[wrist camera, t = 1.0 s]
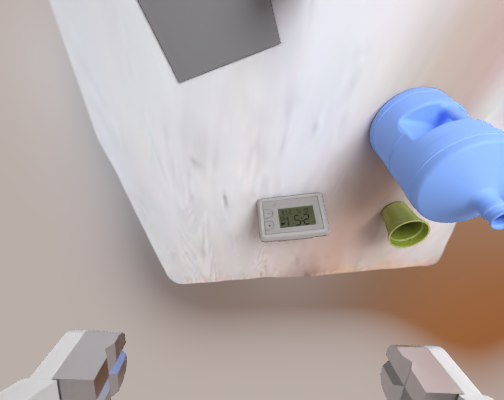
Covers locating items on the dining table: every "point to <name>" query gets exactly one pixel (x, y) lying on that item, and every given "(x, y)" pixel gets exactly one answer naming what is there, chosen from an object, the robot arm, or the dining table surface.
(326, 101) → the dining table surface
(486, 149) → the water jug
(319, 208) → the digital clock
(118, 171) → the dining table surface
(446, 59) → the dining table surface
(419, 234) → the plant pot
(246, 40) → the rubber mat
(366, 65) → the dining table surface
